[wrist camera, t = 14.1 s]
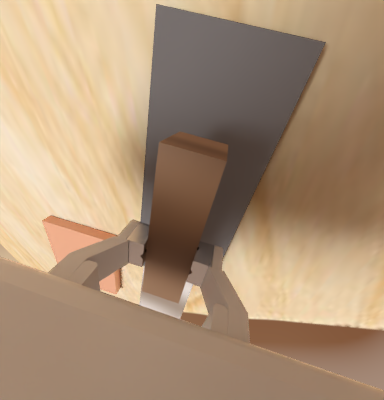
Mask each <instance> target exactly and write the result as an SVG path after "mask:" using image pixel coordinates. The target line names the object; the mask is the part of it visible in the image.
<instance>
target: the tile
mask: <svg viewBox="0 0 384 400" xmlns="http://www.w3.org/2000/svg"><path fill="white" fill-rule="evenodd" d="M42 222H43V225H44V227H45V230H46V233H47V236H48V239H49V241H50V244H51V247H52V250H53V253H54V255H55V258H56V261H57V264H58V263H59V262H60V261H61V260H62V259H64V258H65V257H66V256H67V255H68V254H69V253H71V252H73V251H76V250H79V249H81V248H84V247H87V246H89V245H92V244H95V243H97V242H100V241H103V240H105V239H108V238H111V237H113V236H116V237H117V235H113V234H110V233H107V232H103V231H100V230H97V229H94V228H90V227H87V226H84V225H80V224H77V223H74V222H70V221H67V220H64V219H60V218H57V217H54V216H49V217H47V218H46V219H44V220H42ZM99 284H100V289H102V290H105V291H107V292H110V293H113V294H117V292H118V291H119V289H120V270H119V269H118V270H117V271H115V272H114V273H112V274H110V275H109V276H107V277H106V278H104V279H103V280H101V281H99Z"/></svg>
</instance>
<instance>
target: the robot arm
mask: <svg viewBox="0 0 384 400" xmlns="http://www.w3.org/2000/svg"><path fill="white" fill-rule="evenodd" d="M148 233H149V225H148V224H145V223H142V222H139V221H136V220H132V221H130V223H129V224H128V225H127V226H126V227H125V228H124V229H123V230H122V232H121V233H120V234H119V235H118V236H117V237H116V236H113V237H111V238H108V239H105V240H103V241H100V242H97V243H95V244H92V245H89V246H87V247H84V248H81V249H79V250H76V251H73V252H71V253H69V254H68V255H67V256H66V257H65V258H64V259H62V260H61V261H60V262H59V263H58V264H57V265H56V266H55V267H54V268H52V269H51V270H50V271H49V272H48V273H46V272H43V271H40V270H37V269H35V268H32V267H29V266H26V265H23V264H20V263H17V262H15V261H12V260H9V259H6V258H3V257H0V400H384V390H381V389H379V388H376V387H373V386H370V385H367V384H364V383H361V382H358V381H356V380H353V379H350V378H347V377H344V376H341V375H338V374H336V373H333V372H330V371H327V370H324V369H321V368H318V367H315V366H313V365H310V364H306V363H304V362H301V361H298V360H295V359H292V358H290V357H286V356H284V355H281V354H278V353H275V352H272V351H269V350H267V349H264V348H261V347H258V346H255V345H252V344H250V338H249V323H248V313H247V311H246V309H245V307H244V306H243V304H242V302H241V300H240V299H239V297H238V295H237V293H236V291H235V290H234V288H233V286H232V284H231V283H230V281H229V279H228V277H227V275H226V274H225V272H224V271H222V258H223V248H222V247H218V246H215V245H211V244H208V243H205V242H202V241H200V242H199V245H198V248H197V251H196V254H195V256H194V259H193V261H192V265H191V267H190V270H189V274H188V277H187V281H186V282H188V283H191V284H194V285H197V286H199V287H200V288H201V291H202V295H203V298H204V301H205V304H206V307H207V310H208V313H209V314H208V316H207V318H206V320H205V322H204V323H203V325H202V327H201V326H198V325H195V324H192V323H189V322H186V321H183V320H181V319H178V318H175V317H172V316H169V315H166V314H164V313H161V312H158V311H155V310H152V309H149V308H146V307H144V306H141V305H138V304H135V303H132V302H129V301H126V300H123V299H121V298H118V297H115V296H112V295H109V294H106V293H103V292H100V284H99V281H101V280H103V279H104V278H106V277H107V276H109V275H110V274H112V273H114V272H115V271H117V270H118V269H120V268H122V267H123V266H125V265H126V264H128V263H131V264H134V265H137V266H141V267H142V266H143V264H144V262H145V260H146V251H147V243H148Z"/></svg>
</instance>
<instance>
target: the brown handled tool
mask: <svg viewBox="0 0 384 400" xmlns="http://www.w3.org/2000/svg"><path fill="white" fill-rule="evenodd" d="M227 154H228V144H224V143H220V142H217V141H213V140H209V139H206V138H202V137H199V136H195V135H191V134H188V133H184V132H178V133H176V134H174V135H172V136H170V137H168V138H166V139H164V140H162V141H160V142H159V147H158V155H157V164H156V173H155V181H154V190H153V199H152V207H151V216H150V225H149V233H148V243H147V251H146V260H145V265H144V270H143V279H142V288H141V297H140V305H141V306H144V307H146V308H149V309H152V310H155V311H158V312H161V313H164V314H166V315H169V316H172V317H175V318H178V319H180V317H181V315H182V312H183V310H184V307H185V304H186V302H187V299H188V296H189V294H190V291H191V289H192V286H193V284H191V283H188V282H186V281H187V277H188V274H189V270H190V267H191V265H192V261H193V259H194V256H195V254H196V251H197V248H198V245H199V242H200V239H201V236H202V233H203V230H204V227H205V224H206V221H207V218H208V215H209V212H210V209H211V206H212V204H213V201H214V198H215V195H216V192H217V189H218V186H219V183H220V180H221V177H222V174H223V171H224V168H225V165H226V162H227Z"/></svg>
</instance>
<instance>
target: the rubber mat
mask: <svg viewBox="0 0 384 400" xmlns="http://www.w3.org/2000/svg"><path fill="white" fill-rule="evenodd" d="M325 43H326V42H322V41H318V40H313V39H309V38H304V37H300V36H295V35H291V34H287V33H282V32H278V31H273V30H269V29H264V28H260V27H256V26H251V25H247V24H242V23H238V22H234V21H229V20H225V19H220V18H216V17H211V16H207V15H203V14H198V13H194V12H189V11H185V10H180V9H176V8H172V7H167V6H163V5H158V4H156V17H155V31H154V45H153V58H152V72H151V86H150V100H149V114H148V127H147V141H146V155H145V169H144V183H143V196H142V210H141V222H142V223H145V224H148V225H150V216H151V207H152V199H153V190H154V181H155V173H156V164H157V155H158V147H159V142H160V141H162V140H164V139H166V138H168V137H170V136H172V135H174V134H176V133H178V132H184V133H188V134H191V135H195V136H199V137H202V138H206V139H209V140H213V141H217V142H220V143H224V144H228V154H227V162H226V165H225V168H224V171H223V174H222V177H221V180H220V183H219V186H218V189H217V192H216V195H215V198H214V201H213V204H212V206H211V209H210V212H209V215H208V218H207V221H206V224H205V227H204V230H203V233H202V236H201V239H200V241H202V242H205V243H208V244H211V245H215V246H218V247H222V248H223V257H224V255H225V253H226V251H227V249H228V247H229V244H230V242H231V240H232V238H233V236H234V234H235V232H236V230H237V228H238V226H239V223H240V221H241V219H242V217H243V215H244V213H245V211H246V209H247V207H248V205H249V203H250V200H251V198H252V196H253V194H254V192H255V190H256V188H257V186H258V184H259V182H260V179H261V177H262V175H263V173H264V171H265V169H266V167H267V165H268V163H269V161H270V158H271V156H272V154H273V152H274V150H275V148H276V146H277V144H278V142H279V140H280V137H281V135H282V133H283V131H284V129H285V127H286V125H287V123H288V121H289V119H290V116H291V114H292V112H293V110H294V108H295V106H296V104H297V102H298V100H299V98H300V95H301V93H302V91H303V89H304V87H305V85H306V83H307V81H308V79H309V77H310V74H311V72H312V70H313V68H314V66H315V64H316V62H317V60H318V58H319V56H320V54H321V51H322V49H323V47H324V45H325ZM222 259H223V258H222ZM143 265H145V262H144V264H143Z"/></svg>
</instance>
